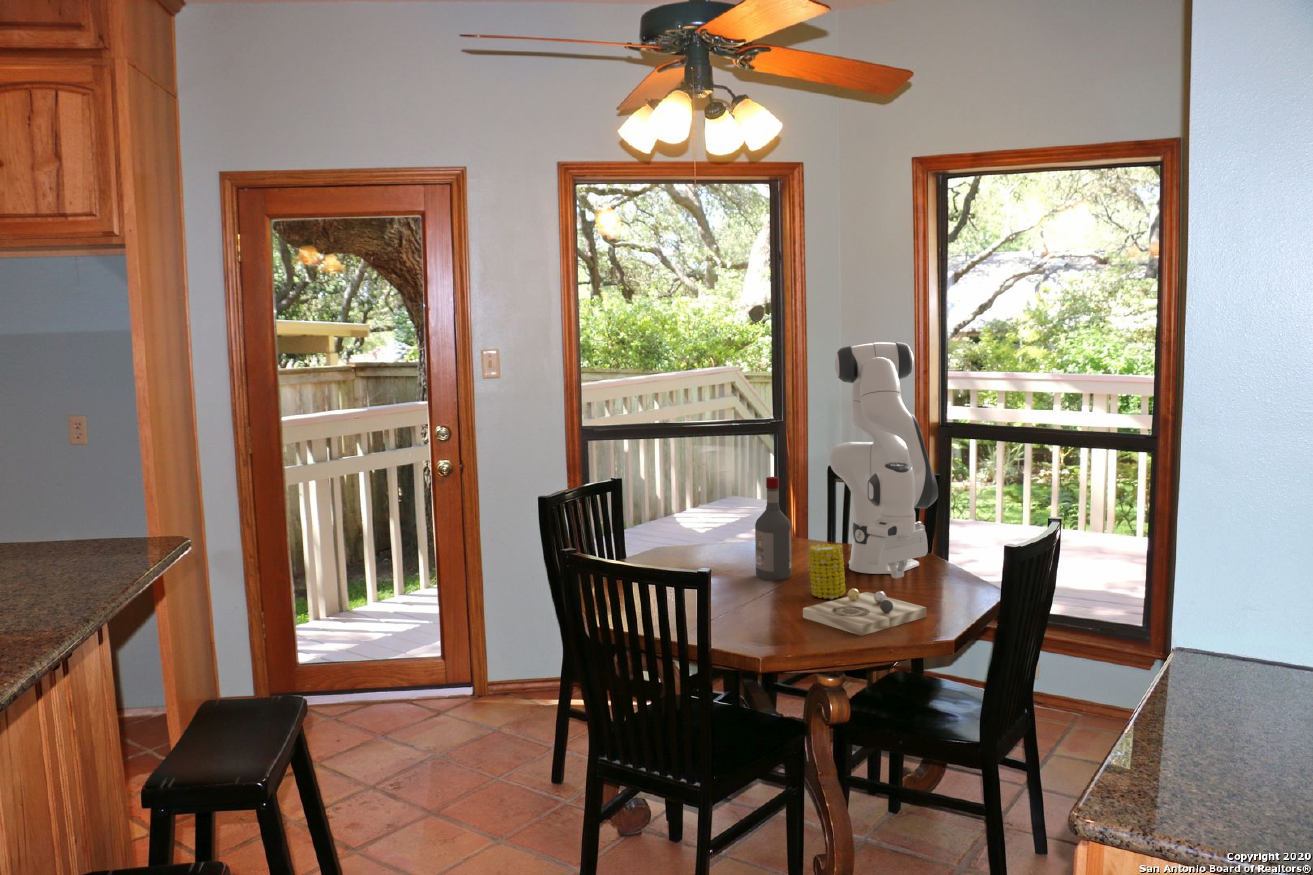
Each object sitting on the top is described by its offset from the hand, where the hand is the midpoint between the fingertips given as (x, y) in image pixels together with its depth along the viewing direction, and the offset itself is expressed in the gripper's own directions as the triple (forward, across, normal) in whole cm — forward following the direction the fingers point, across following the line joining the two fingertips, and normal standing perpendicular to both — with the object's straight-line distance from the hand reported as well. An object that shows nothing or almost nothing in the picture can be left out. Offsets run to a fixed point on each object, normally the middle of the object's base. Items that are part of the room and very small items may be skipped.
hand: (897, 577), depth 265 cm
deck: (+9, +12, 0) cm, 15 cm away
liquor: (+8, +2, -46) cm, 47 cm away
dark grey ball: (+5, +11, +6) cm, 14 cm away
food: (+8, +4, -21) cm, 23 cm away
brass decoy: (+4, +9, -7) cm, 12 cm away
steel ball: (+4, +6, 0) cm, 8 cm away
